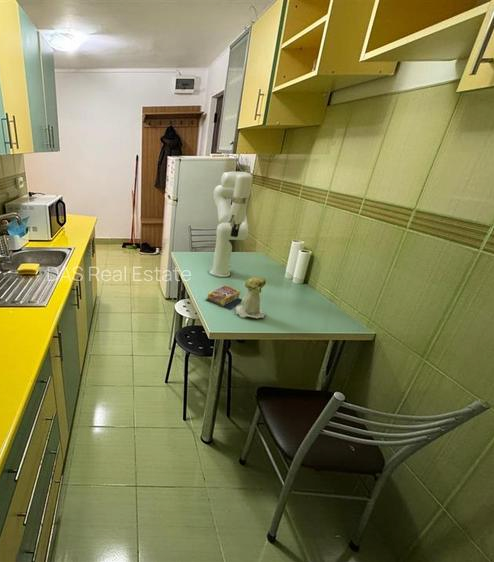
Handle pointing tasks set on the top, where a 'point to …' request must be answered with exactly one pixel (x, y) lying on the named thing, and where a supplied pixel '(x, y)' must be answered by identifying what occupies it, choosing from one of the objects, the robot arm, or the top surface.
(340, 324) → the top surface
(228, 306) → the mat
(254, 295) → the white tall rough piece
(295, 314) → the top surface
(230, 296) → the candy box
